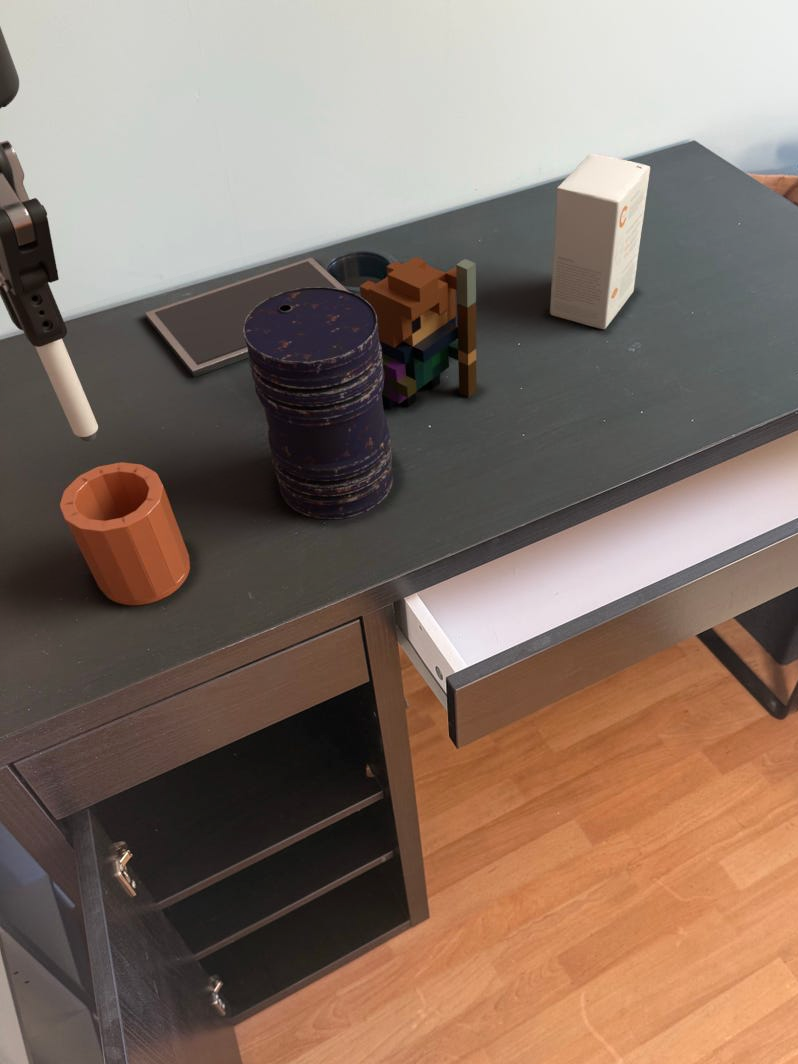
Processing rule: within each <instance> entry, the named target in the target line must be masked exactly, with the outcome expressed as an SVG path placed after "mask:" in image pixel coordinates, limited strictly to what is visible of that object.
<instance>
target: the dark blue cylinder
mask: <svg viewBox="0 0 798 1064" xmlns="http://www.w3.org/2000/svg"><path fill="white" fill-rule="evenodd" d="M243 331H244V336H245V341H246V345H247V347H248V353H249V358H248V363H249V368H250V372H251V377H252V380H253V383H254V389H255V393H256V396H257V398H258V400H259V402H260V404H261V406H262V407H263V408H264V414H265V417H266V421H267V426H268V430H267V440H268V445H269V449H270V458H271V463H272V467H273V470H274V472H275V474H276V477H277V478H276V479H277V480H278V485H279V491H280V494H281V497H282V498H283V500H284V501H285V502H286V504H287V505H288V506H290V508H292V509H293V510H295V511H296V512H298V513H300V514H302V515H305V516H307V517H309V518H310V517H311V518H314V519H319V520H341V519H342V520H343V519H348V518H352V517H356V516H359V515H362V514H364V513H366V512H368V511H370V510H371V509H373V508H375V507H376V506H378V505H379V504H381V502H383V501H384V500H385V498H387V496H388V495H389V493H390V492H391V488H392V487H393V482H394V472H393V466H392V456H393V449H392V439H391V435H390V428H389V423H388V418H387V417H386V415H385V412H384V411H385V410H384V405H383V401H382V391H383V386H384V370H383V359H382V349H381V345H380V342H379V334H378V323H377V315H376V312H375V310H374V308H373V307H372V305H371V304H370V303H368V302H367V301H366V300H365V299H363V298H362V297H361V295H359V294H356V293H354V292H353V291H352V292H351V291H349V290H348V291H345V290H341V289H337V288H329V287H307V288H299V289H294V290H289V291H286V292H282V293H279V294H277V295H274V296H272V297H270V298H268V299H266V300H264V301H263V302H261V303H260V304H258V305H257V306H256V307H255V308H254V309H253V310H252V311H251V312H250V313H249V314H248V316H247V318H246V320H245V322H244V328H243Z"/></svg>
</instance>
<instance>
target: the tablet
mask: <svg viewBox="0 0 798 1064" xmlns="http://www.w3.org/2000/svg"><path fill="white" fill-rule="evenodd" d="M307 287H329V288H337V289H341V290H345V291H349V290H348V289H347V288H346V287H345V286H343V284H341V283H340V282H339V281H338V280H337V279H336V278H335V277H334V276H332V275H331V274H330V273H329V272H328V270H326V269H325V268H324V267H323V266H322V265H320V263H318V262H317V261H316V260H315V259H314V258H313V257H308V258H306V259H302V260H299V261H297V262H294V263H290V264H287V265H284V266H281V267H278V268H275V269H272V270H269V271H266V272H264V273H260V274H257V275H253V276H252V277H248V278H245V279H242V280H238V281H235V282H233V283H230V284H227V285H223V286H221V287H218V288H215V289H211V290H209V291H206V292H203V293H200V294H197V295H194V296H191V297H188V298H184V299H182V300H178V301H176V302H173V303H170V304H167V305H164V306H161V307H158V308H155V309H152V310H149V311H146V312H145V314H144V315H145V316H146V320H147V321H148V322H149V324H150V325H151V326H152V327H153V329H154V330H155V331H156V332H157V334H159V336H160V337H161V339H162V340H163V341H164V342H165V344H167V346H168V347H169V348H170V350H171V351H172V352H173V353H174V354H175V356H176V357H177V358H178V359H179V361H180V362H181V363H182V364H183V366H184V367H185V368H186V369H187V371H188V372H189V373H190V374H191V375H192V377H193V378H197V377H200V376H203V375H205V374H208V373H211V372H214V371H217V370H219V369H222V368H225V367H228V366H230V365H233V364H235V363H239V362H241V361H243V360H246V359H249V353H248V347H247V345H246V341H245V336H244V331H243V328H244V322H245V320H246V318H247V316H248V314H249V313H250V312H251V311H252V310H253V309H254V308H255V307H256V306H257V305H258V304H260V303H261V302H263V301H264V300H266V299H268V298H270V297H272V296H274V295H277V294H279V293H282V292H286V291H289V290H294V289H299V288H307Z"/></svg>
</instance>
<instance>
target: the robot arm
mask: <svg viewBox="0 0 798 1064" xmlns="http://www.w3.org/2000/svg"><path fill="white" fill-rule="evenodd" d="M4 35H5V34H4V33H3V30H2V26H0V110H1V109H2V108H6V107H8V106H9V105H10V104H11V103H12V102H13V101H14V99H15V98H16V96H17V95H18V93H19V90H20V78H19V74H18V72H17V69H16V66H15V62H14V60H13V58H12V54H11V51H10V49H9V46H8V44H7V41H6V38H5V36H4ZM24 180H25V172H24V170H23V167H22V165H21V162H20V160H19V157H18V155H17V152H16V150H15V149H14V147H13V145H12V144H11V142H10V141H9V140H4V141H0V298H1V300H2V303H3V305H4V307H5V309H6V311H7V313H8V315H9V317H10V320H11V322H12V323H13V325H15V327H16V328H17V329H18V330H20V331H23V333H24V336H25V339H27V340H28V342H29V343H30V344H31V345H32V346H34V347H35V346H36V347H41V346H44V345H47V344H49V343H52V342H54V341H57V340H60V339H62V340H63V339H64V338H65V337H66V336H67V333H68V328H67V326H66V322H65V321H64V319H63V316H62V313H61V311H60V309H59V306H58V304H57V301H56V299H55V297H54V294H53V291H52V289H51V286H50V284H51V283H54V282H57V281H59V279H60V278H59V271H58V267H57V263H56V257H55V249H54V246H53V245H54V244H53V240H52V234H51V229H50V223H49V219H48V212H47V210H46V207H45V206H44V204H41V202H40V201H39V199H38V198H37V197H33V198H29V195H28V192H27V189H26V187H25V185H24ZM49 283H50V284H49ZM36 347H35V348H36Z"/></svg>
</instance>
